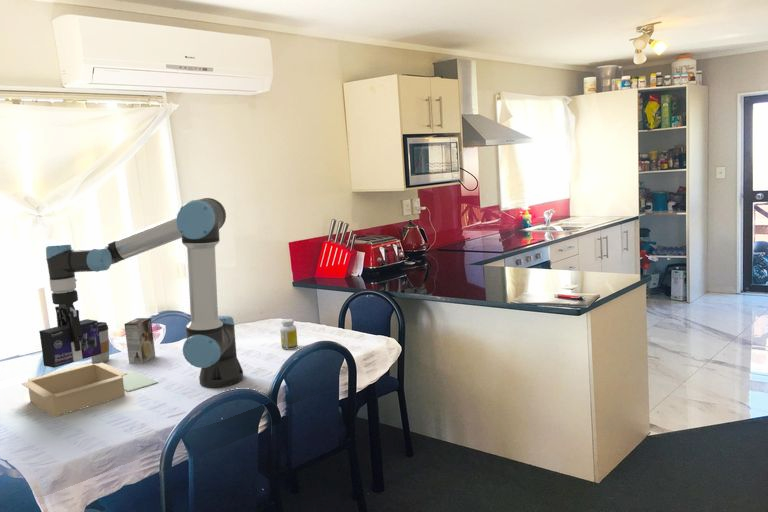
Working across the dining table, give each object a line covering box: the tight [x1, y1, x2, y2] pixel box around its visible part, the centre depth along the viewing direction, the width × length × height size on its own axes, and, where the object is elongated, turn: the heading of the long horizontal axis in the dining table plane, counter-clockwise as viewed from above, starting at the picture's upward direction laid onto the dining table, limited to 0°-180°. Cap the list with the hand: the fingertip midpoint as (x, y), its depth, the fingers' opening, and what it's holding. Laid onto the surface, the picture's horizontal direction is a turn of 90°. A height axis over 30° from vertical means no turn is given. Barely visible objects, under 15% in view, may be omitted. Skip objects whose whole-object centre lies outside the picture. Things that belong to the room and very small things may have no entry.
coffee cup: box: [90, 321, 110, 364], centre depth 256 cm, size 8×8×15 cm
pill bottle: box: [279, 318, 299, 350], centre depth 262 cm, size 6×6×12 cm
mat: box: [123, 370, 159, 393], centre depth 231 cm, size 21×11×1 cm, turn 46°
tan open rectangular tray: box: [21, 362, 127, 418], centre depth 216 cm, size 26×27×7 cm
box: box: [38, 318, 101, 369], centre depth 214 cm, size 17×7×12 cm, turn 147°
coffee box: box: [124, 317, 156, 364], centre depth 255 cm, size 9×6×16 cm
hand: (73, 358), depth 214 cm, fingers closed on box, 7 cm apart
